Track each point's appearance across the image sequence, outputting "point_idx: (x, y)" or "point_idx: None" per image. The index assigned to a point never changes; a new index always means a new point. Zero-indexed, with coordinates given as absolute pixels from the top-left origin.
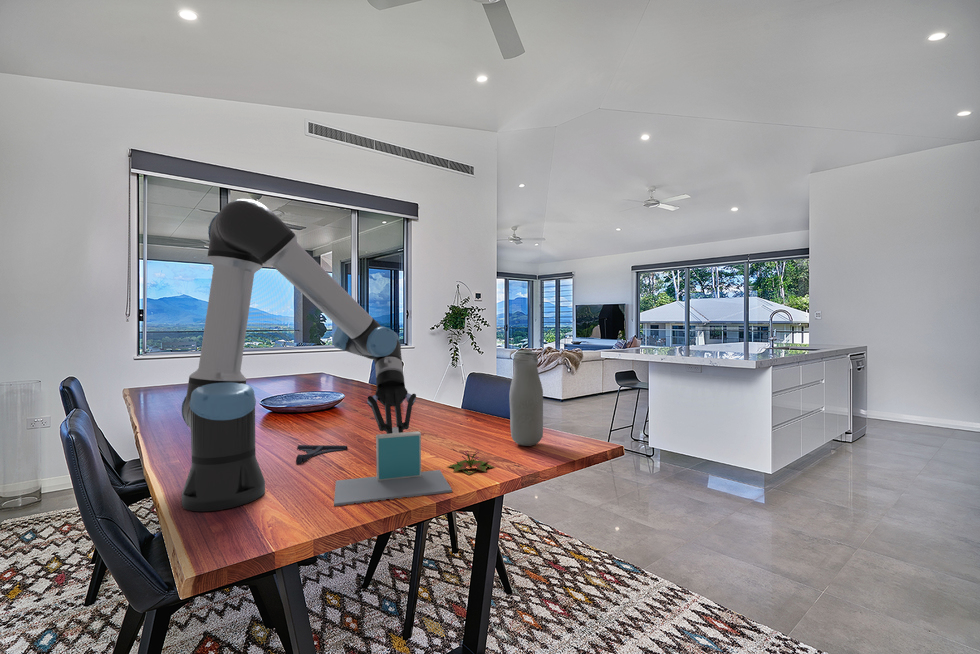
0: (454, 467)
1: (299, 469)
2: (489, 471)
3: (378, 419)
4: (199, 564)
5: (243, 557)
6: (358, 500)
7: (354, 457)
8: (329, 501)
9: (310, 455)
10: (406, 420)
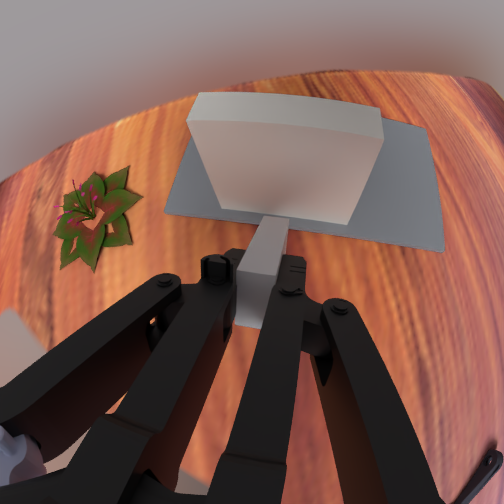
0: (122, 223)
1: (500, 402)
2: (86, 178)
3: (368, 338)
4: (495, 93)
5: (469, 81)
6: (386, 119)
7: None
8: (436, 154)
9: (461, 499)
10: (160, 288)
